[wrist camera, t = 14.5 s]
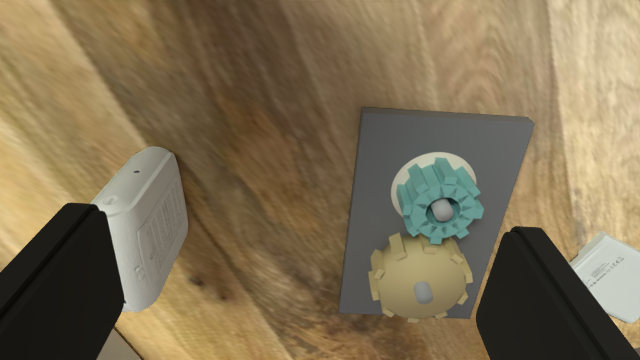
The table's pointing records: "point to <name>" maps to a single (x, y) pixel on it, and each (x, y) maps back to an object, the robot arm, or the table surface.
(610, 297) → the external hard drive
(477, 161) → the gear board
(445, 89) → the table surface
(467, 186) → the teal gear
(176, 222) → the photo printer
